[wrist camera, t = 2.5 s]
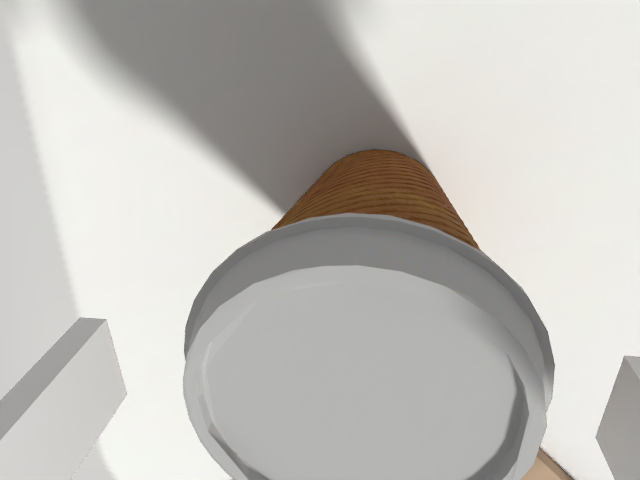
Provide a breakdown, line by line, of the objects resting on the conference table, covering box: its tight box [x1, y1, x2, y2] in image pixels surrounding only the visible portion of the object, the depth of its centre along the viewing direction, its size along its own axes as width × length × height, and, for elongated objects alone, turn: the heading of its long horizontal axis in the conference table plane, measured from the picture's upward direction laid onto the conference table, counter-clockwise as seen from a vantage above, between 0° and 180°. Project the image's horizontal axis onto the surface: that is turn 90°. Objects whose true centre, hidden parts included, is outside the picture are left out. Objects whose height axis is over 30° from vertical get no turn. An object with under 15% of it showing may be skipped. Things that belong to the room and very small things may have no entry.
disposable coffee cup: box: [183, 150, 555, 480], centre depth 17 cm, size 10×10×12 cm
